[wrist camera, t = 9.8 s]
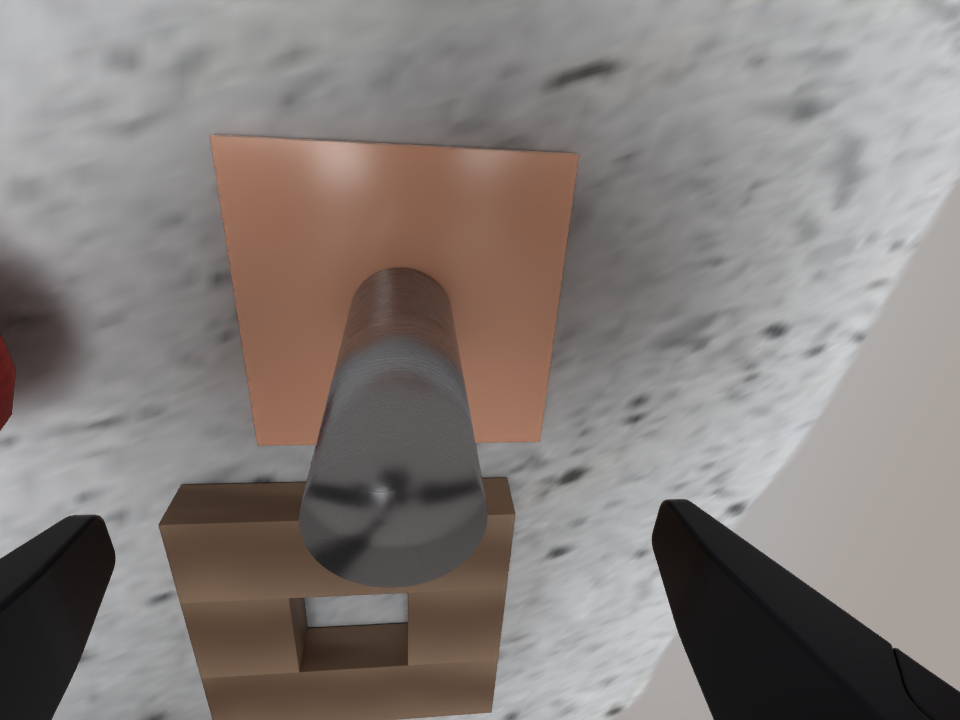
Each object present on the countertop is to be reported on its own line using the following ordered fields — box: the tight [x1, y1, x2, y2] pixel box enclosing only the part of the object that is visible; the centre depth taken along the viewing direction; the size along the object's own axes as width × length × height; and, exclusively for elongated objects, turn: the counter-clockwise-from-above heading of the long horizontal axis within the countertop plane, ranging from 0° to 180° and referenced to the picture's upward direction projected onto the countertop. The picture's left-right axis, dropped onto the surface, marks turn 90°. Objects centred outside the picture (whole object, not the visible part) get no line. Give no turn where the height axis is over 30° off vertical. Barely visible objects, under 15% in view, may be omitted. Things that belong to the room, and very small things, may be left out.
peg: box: [299, 267, 487, 588], centre depth 13 cm, size 3×3×9 cm
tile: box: [210, 134, 579, 445], centre depth 17 cm, size 10×10×1 cm
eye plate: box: [159, 478, 515, 720], centre depth 23 cm, size 12×12×2 cm
